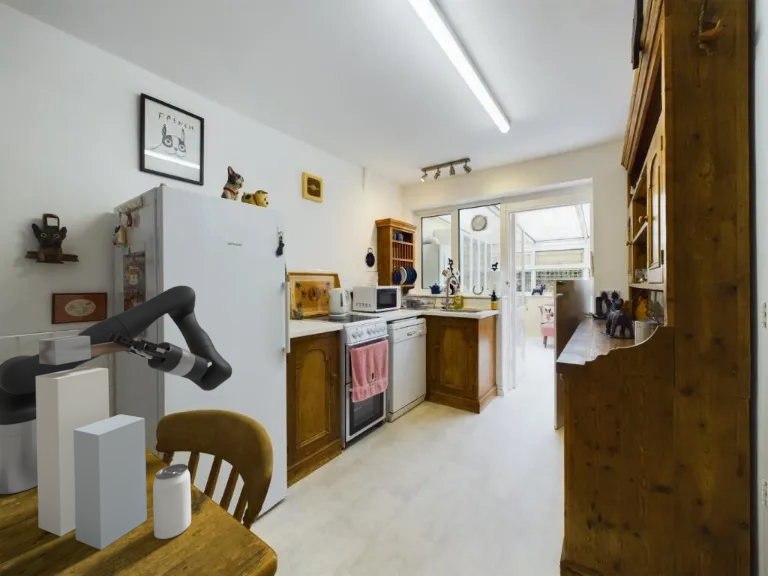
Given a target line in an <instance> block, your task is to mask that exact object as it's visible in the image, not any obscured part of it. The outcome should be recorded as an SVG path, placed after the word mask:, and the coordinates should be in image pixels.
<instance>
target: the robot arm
mask: <svg viewBox="0 0 768 576" xmlns="http://www.w3.org/2000/svg"><path fill="white" fill-rule="evenodd" d="M195 306H196V292H195V290H194V288H192V287H191V286H188V285H177V286H173V287H170V288H168V289H166V290H164V291H163V292H161V293H159V294H157V295H156V296H153V297H152V298H150V299H148V300H146V301H144V302H142V303H139V304H137V305H135V306H133V307H131V308H129V309H127V310H125V311H122V312H119V313H116V314H115V315H112V316H110V317H108V318H106V319H103V320H101V321H99V322H97V323H95V324H91V326H89V327H88V328H85V329H84V330H83V331H81V332H79V334H77V336H90V345H96V344H102V343H108V342H114V343H117V344H120V345H123V346H126V347H129V346H130V347H129V348H130V349H131V350H126V351H124V352H125V353H127V354H129V355H135V356H137V357H138V358H141V359H145V360H146V359H147V364H148V367H149V368H151V369H154V370H157V371H160V372H163V373H166V374H169V375H172V376H178V377H181V378H183V379H187V380H189V381H191V382H192V383H194V384H195V385H196V386H198V387H199V388H200V389H201V390H203V391H206V392H208V391H213V390H215V389H217V388H218V387H219V386H221V385H222V384H223V383H225V382H226V381H228V380H229V379H230V378H231V377H232V374H233V368H232V366H231V363H229V362H228V361H227V360H226V359H225V358H224V357H222V355H221V354H220V353H219V352H218V351H217V349H216V347H215V345H214V343H213V341H212V339H211V337H210V336H209V334H208V333H207V331H205V329H203V328H202V327H201V326H200V324H199V321H197V316H196V314H195ZM165 315H168V316H169V318H170V319H171V320H172V321H173V323H174V324H175V325H176V327H177V329H178V330H179V332H180V333H181V335H182V336H183V338H184V341H185V343H186V346H187V348H188V349H189V350H187V349H185V348H182V347H180V346H178V345H175V344H173V343H171V342H168V341H163V342H159V343H158V344H157V343H154V342H152V341H148V340H146V339H143V340H138V339H134V340H133V338H139V336H140V335H142V334H143V333H144V332H145V331H146V330H147V329H148V328H149V327H150V326H152V324H153V323H154V322H156V321H157V320H158V319H159V318H161V317H163V316H165ZM101 356H102V355H99V356H94V357H91V359H86V360H81V361H75V362H70V363H65V364H60V365H50V364H40V362H39V353H37V354H34V355H18V356H13V357H11V358H9V359H5V360H4V361H3V362H1V364H0V495H9V494H10V495H11V494H15V493H16V494H17V493H20V492H25V491H27V490H29V489H32V488H35V487H38V472H37V420H36V376H40V375H45V374H50V373H55V372H60V371H66V370H71V369H76V368H77V367H79V366H81V365H83V364H85V363H87V362H91V361H92V360H94V359H96V358H99V357H101ZM209 363H211V364H210V365H208V364H209Z"/></svg>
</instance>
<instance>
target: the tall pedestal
mask: <svg viewBox="0 0 768 576" xmlns="http://www.w3.org/2000/svg"><path fill="white" fill-rule="evenodd" d="M109 380H110V379H109V368H106V367H105V368H104V367H96V366H83V367H78V368H77V367H76V368H74V369H71V370H66V371H60V372H55V373H50V374H45V375H40V376H36V420H37V472H38V486H37V511H38V512H37V513H38V515H37V516H38V517H37V518H38V523H37V524H38V529H42V530H44V531H46V532H49V533H52V534H54V535H56V536H59V537H63V536H65V535H66V534H68V533H70V532H72V531H73V530H76V523H75V473H74V429H77V428H80V427H83V426H86V425H89V424H92V423H95V422H98V421H101V420H104V419H107V418H110V391H109V389H110V388H109V387H110V386H109V385H110V383H109Z"/></svg>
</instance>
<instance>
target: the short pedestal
mask: <svg viewBox="0 0 768 576" xmlns="http://www.w3.org/2000/svg"><path fill="white" fill-rule="evenodd" d="M146 455H147V454H146V419H145V417H140V416H139V417H138V416H135V415H134V416H133V415H127V414H122V413H121V414H117V415H114V416H109V418H107V419H104V420H101V421H98V422H95V423H92V424H89V425H86V426H83V427H80V428H77V429H74V473H75V523H76V528H75V540H76V541H78V542H81V543H84V544H85V545H88V546H90V547H93V548H95V549H98V550H100V551H102V550H104V549H105V548H106V547H108V546H109V545H111V544H113V543H114V542H116V541H117V540H118V539H121V538H122V537H123V536H126V534H128V533H129V532H131V531H132V530H134V529H136V528H137V527H140V525H142V524H143V523H145V522H146V521H148V513H147V512H148V511H147V510H148V509H147V507H148V506H147V504H148V503H147V474H146V473H147V462H146Z"/></svg>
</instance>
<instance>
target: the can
mask: <svg viewBox="0 0 768 576" xmlns="http://www.w3.org/2000/svg"><path fill="white" fill-rule="evenodd" d="M191 492H192V491H191V473H190V471H189V469H188V465H187V464H185V463H175V464H172V465H168V466H166V467H163V468H161V469H160V470H158V471H157V472H156V473H155V478H154V481H153V483H152V495H153V496H152V497H153V499H152V501H153V505H152V506H153V535H154V537H155V538H156V539H158V540H164V539H165V540H169V539H173V538H175V537H178V536H180V535H181V534H183V533H184V532H185V531H186V530H187V529H188V528H189V527H190V525H191V523H192V498H191Z"/></svg>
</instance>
